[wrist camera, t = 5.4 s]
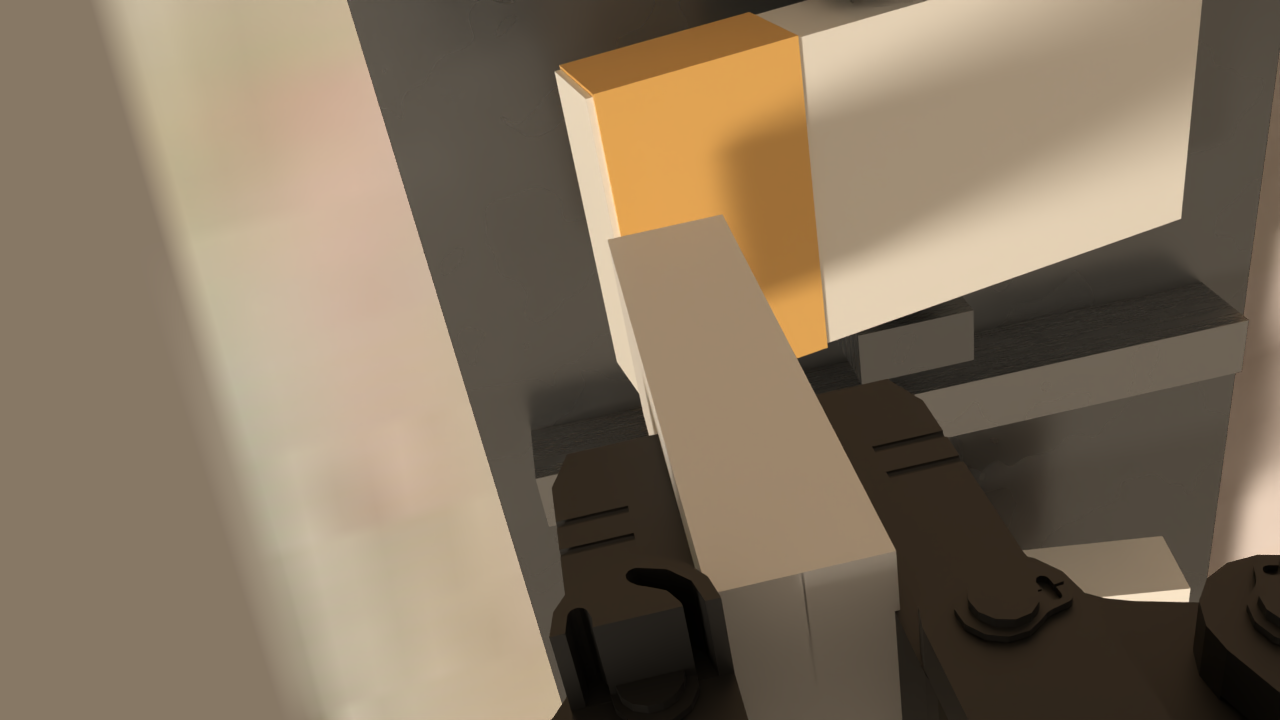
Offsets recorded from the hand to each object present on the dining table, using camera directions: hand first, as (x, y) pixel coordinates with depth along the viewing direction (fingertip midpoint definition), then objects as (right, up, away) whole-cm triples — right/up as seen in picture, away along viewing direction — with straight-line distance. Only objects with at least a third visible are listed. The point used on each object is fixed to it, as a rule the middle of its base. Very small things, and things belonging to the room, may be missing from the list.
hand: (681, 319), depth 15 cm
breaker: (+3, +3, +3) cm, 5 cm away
